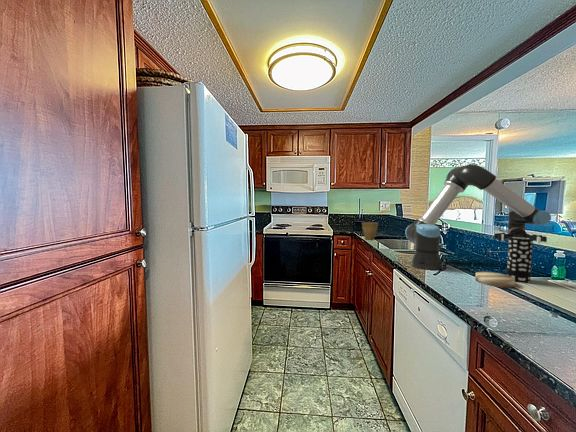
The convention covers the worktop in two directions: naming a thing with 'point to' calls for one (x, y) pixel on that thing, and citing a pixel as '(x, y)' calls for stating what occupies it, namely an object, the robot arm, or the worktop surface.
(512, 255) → the spotted tube
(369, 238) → the plant pot
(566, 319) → the worktop surface
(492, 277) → the maple plinth
